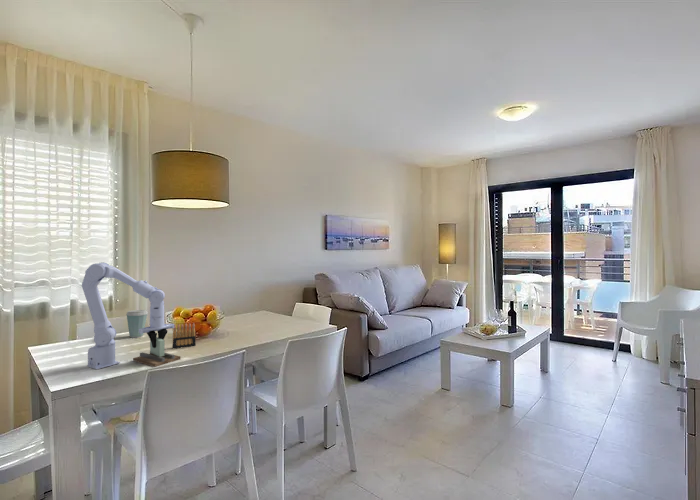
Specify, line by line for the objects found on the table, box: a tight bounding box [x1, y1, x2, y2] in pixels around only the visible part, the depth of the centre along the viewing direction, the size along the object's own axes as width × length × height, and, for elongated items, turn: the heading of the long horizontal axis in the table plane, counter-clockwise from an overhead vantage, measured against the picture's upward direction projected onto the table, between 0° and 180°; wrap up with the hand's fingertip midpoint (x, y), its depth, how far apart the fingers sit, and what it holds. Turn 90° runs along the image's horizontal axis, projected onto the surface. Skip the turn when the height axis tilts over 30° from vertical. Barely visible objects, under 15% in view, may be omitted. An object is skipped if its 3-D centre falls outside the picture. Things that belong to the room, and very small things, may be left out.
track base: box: [132, 352, 181, 368], centre depth 164 cm, size 12×16×3 cm
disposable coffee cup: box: [125, 309, 149, 339], centre depth 204 cm, size 11×11×15 cm
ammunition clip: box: [172, 322, 197, 349], centre depth 185 cm, size 11×2×12 cm, turn 120°
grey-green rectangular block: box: [149, 336, 166, 357], centre depth 164 cm, size 2×10×7 cm, turn 51°
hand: (157, 346), depth 164 cm, fingers closed on grey-green rectangular block, 2 cm apart
